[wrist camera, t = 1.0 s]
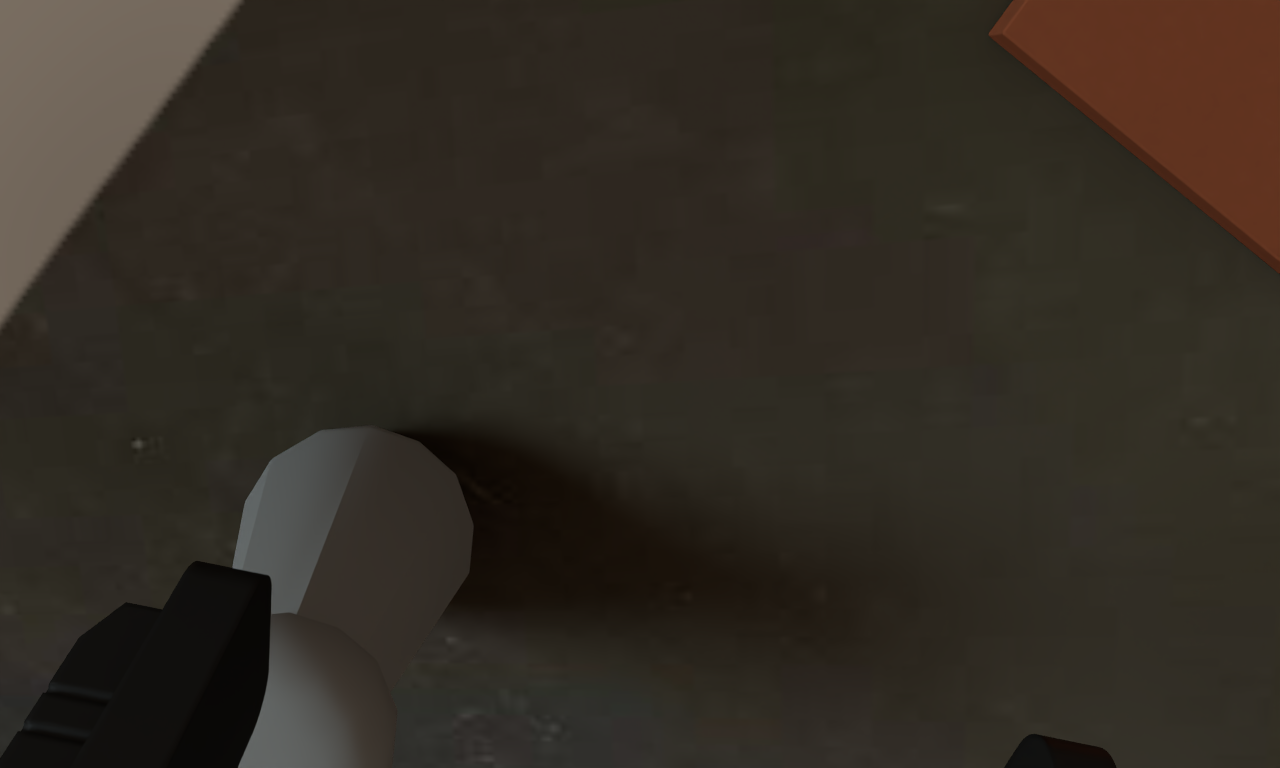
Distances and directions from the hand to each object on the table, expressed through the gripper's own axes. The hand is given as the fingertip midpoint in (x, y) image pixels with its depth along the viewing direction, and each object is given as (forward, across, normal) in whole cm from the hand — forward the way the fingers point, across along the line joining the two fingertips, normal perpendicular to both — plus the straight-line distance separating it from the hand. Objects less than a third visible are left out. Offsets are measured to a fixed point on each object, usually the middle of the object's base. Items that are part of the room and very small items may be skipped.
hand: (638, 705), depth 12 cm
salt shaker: (+15, +6, +12) cm, 21 cm away
